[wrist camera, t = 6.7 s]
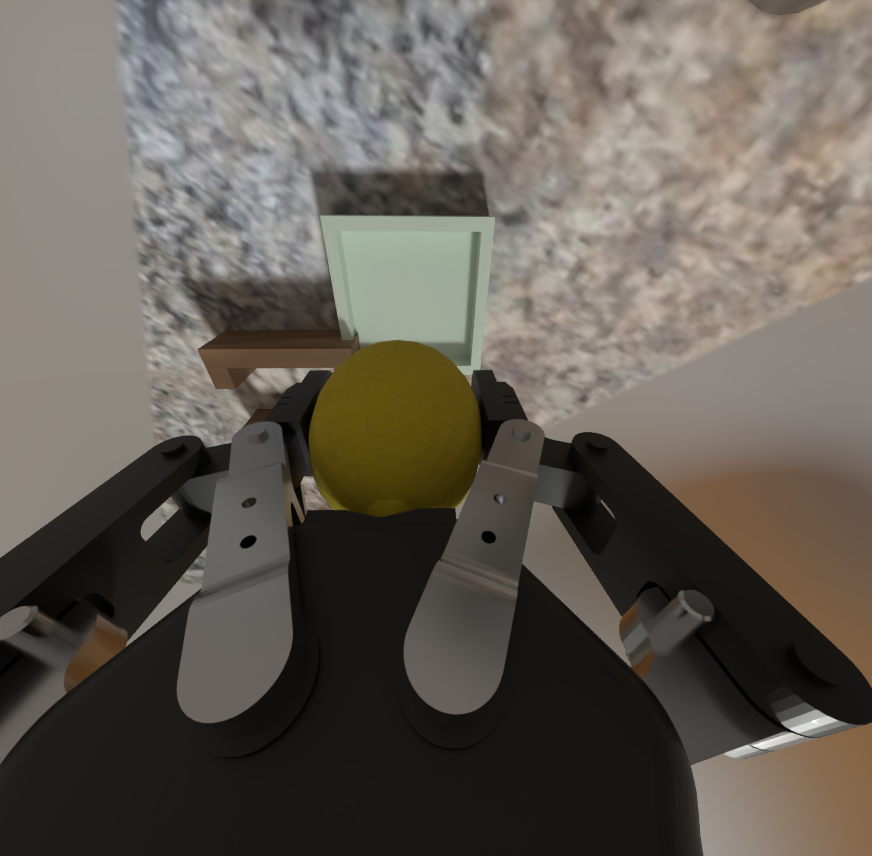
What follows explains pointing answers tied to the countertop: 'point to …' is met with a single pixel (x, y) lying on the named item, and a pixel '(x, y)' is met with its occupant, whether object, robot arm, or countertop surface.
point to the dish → (412, 280)
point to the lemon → (395, 431)
